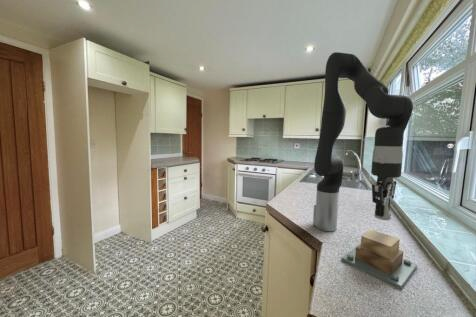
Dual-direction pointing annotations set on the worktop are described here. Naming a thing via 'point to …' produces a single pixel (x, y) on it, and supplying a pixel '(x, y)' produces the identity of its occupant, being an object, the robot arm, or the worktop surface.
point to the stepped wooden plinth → (380, 251)
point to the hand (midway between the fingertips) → (382, 213)
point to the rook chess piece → (385, 211)
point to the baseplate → (394, 279)
